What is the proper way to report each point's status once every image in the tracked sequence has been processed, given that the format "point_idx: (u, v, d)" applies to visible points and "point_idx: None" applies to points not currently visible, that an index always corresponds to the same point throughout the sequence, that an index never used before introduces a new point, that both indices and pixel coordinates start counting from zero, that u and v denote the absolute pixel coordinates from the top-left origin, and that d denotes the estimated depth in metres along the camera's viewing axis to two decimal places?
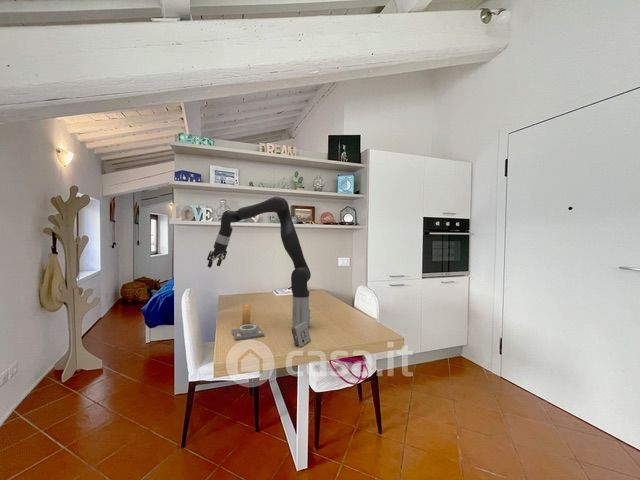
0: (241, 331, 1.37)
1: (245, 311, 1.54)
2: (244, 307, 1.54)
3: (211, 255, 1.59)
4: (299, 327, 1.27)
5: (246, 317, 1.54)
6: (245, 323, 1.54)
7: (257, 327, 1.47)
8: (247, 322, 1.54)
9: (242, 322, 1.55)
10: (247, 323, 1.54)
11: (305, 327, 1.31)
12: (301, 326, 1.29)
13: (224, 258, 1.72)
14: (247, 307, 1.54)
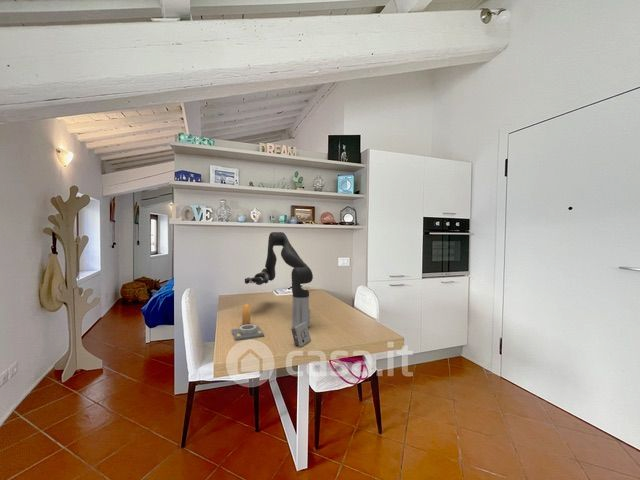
0: (241, 331, 1.37)
1: (245, 311, 1.54)
2: (244, 307, 1.54)
3: None
4: (299, 327, 1.27)
5: (246, 317, 1.54)
6: (245, 323, 1.54)
7: (257, 327, 1.47)
8: (247, 322, 1.54)
9: (242, 322, 1.55)
10: (247, 323, 1.54)
11: (305, 327, 1.31)
12: (301, 326, 1.29)
13: (265, 279, 1.71)
14: (247, 307, 1.54)
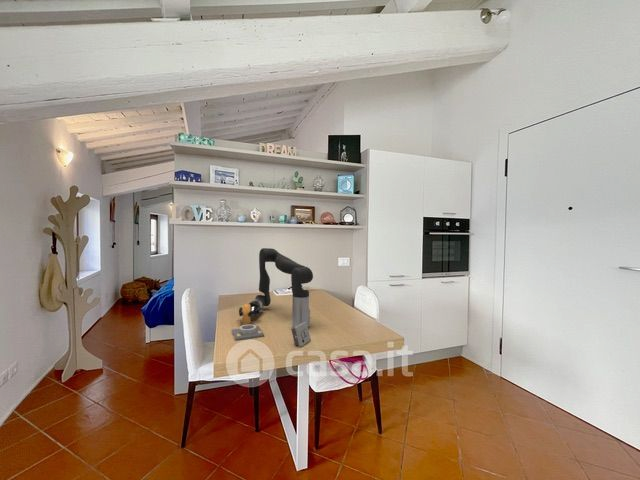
0: (241, 331, 1.37)
1: (245, 311, 1.54)
2: (244, 307, 1.54)
3: None
4: (299, 327, 1.27)
5: (246, 317, 1.54)
6: (245, 323, 1.54)
7: (257, 327, 1.47)
8: (247, 322, 1.54)
9: (242, 322, 1.55)
10: (247, 323, 1.54)
11: (305, 327, 1.31)
12: (301, 326, 1.29)
13: (256, 310, 1.58)
14: (247, 307, 1.54)
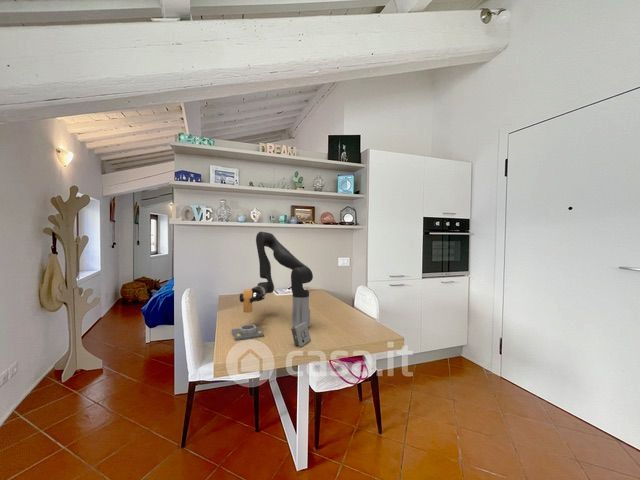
0: (241, 331, 1.37)
1: (246, 296, 1.38)
2: (245, 292, 1.38)
3: (240, 295, 1.46)
4: (299, 327, 1.27)
5: (247, 303, 1.38)
6: (246, 310, 1.38)
7: (257, 327, 1.47)
8: (249, 309, 1.39)
9: (243, 309, 1.39)
10: (249, 310, 1.39)
11: (305, 327, 1.31)
12: (301, 326, 1.29)
13: (258, 296, 1.42)
14: (249, 292, 1.38)
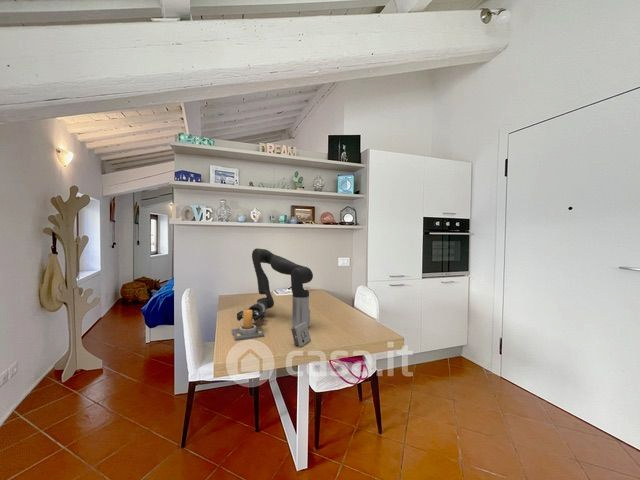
0: (241, 331, 1.37)
1: (246, 317, 1.38)
2: (245, 313, 1.38)
3: None
4: (299, 327, 1.27)
5: (247, 324, 1.38)
6: None
7: (257, 327, 1.47)
8: None
9: None
10: None
11: (305, 327, 1.31)
12: (301, 326, 1.29)
13: (262, 314, 1.43)
14: (249, 313, 1.38)
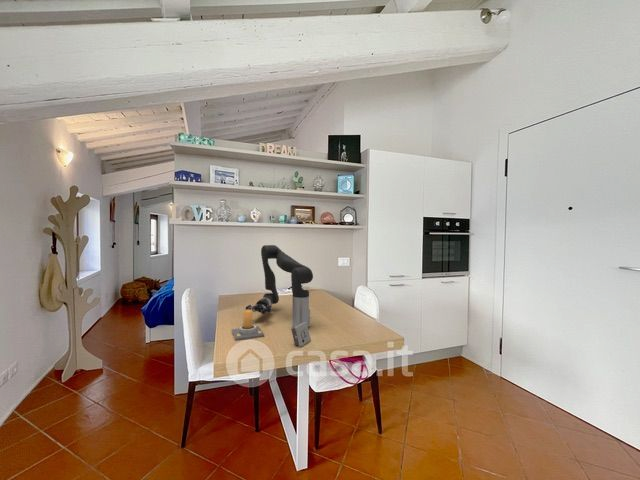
0: (241, 331, 1.37)
1: (246, 317, 1.38)
2: (245, 313, 1.38)
3: None
4: (299, 327, 1.27)
5: (247, 324, 1.38)
6: None
7: (257, 327, 1.47)
8: None
9: None
10: None
11: (305, 327, 1.31)
12: (301, 326, 1.29)
13: (268, 307, 1.56)
14: (249, 313, 1.39)
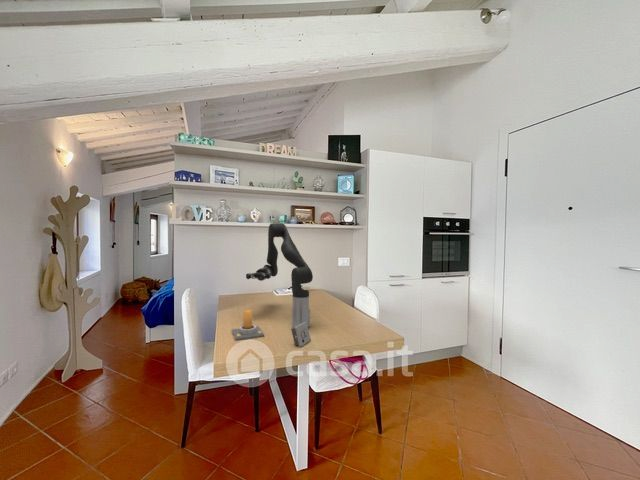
0: (241, 331, 1.37)
1: (246, 317, 1.38)
2: (245, 313, 1.38)
3: (248, 274, 1.68)
4: (299, 327, 1.27)
5: (247, 324, 1.38)
6: None
7: (257, 327, 1.47)
8: None
9: None
10: None
11: (305, 327, 1.31)
12: (301, 326, 1.29)
13: (268, 274, 1.64)
14: (249, 313, 1.39)
